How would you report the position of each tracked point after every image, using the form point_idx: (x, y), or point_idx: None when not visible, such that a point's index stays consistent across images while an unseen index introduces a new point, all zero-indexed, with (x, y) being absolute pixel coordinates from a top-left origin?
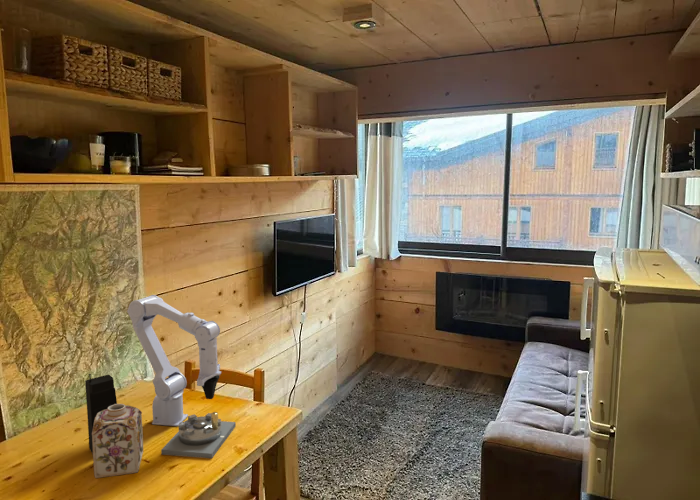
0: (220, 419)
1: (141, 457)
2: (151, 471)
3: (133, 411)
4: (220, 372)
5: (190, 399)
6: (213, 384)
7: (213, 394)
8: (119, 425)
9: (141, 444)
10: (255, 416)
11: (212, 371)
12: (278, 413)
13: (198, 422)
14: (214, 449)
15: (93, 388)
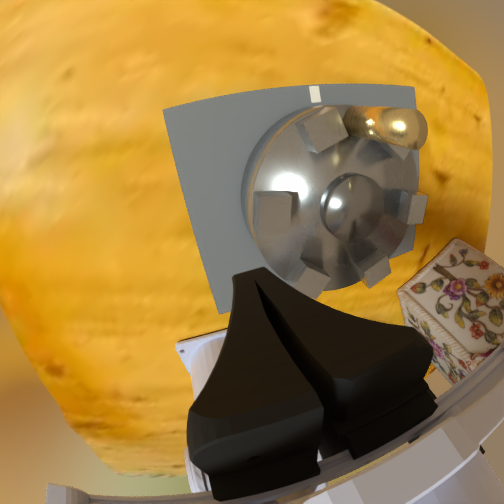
0: (311, 121)
1: (424, 271)
2: (453, 213)
3: None
4: (423, 492)
5: (90, 391)
6: (392, 325)
7: (258, 282)
8: None
9: (428, 296)
10: (47, 94)
11: (495, 482)
12: (6, 36)
13: (355, 219)
14: (395, 87)
15: (480, 446)
